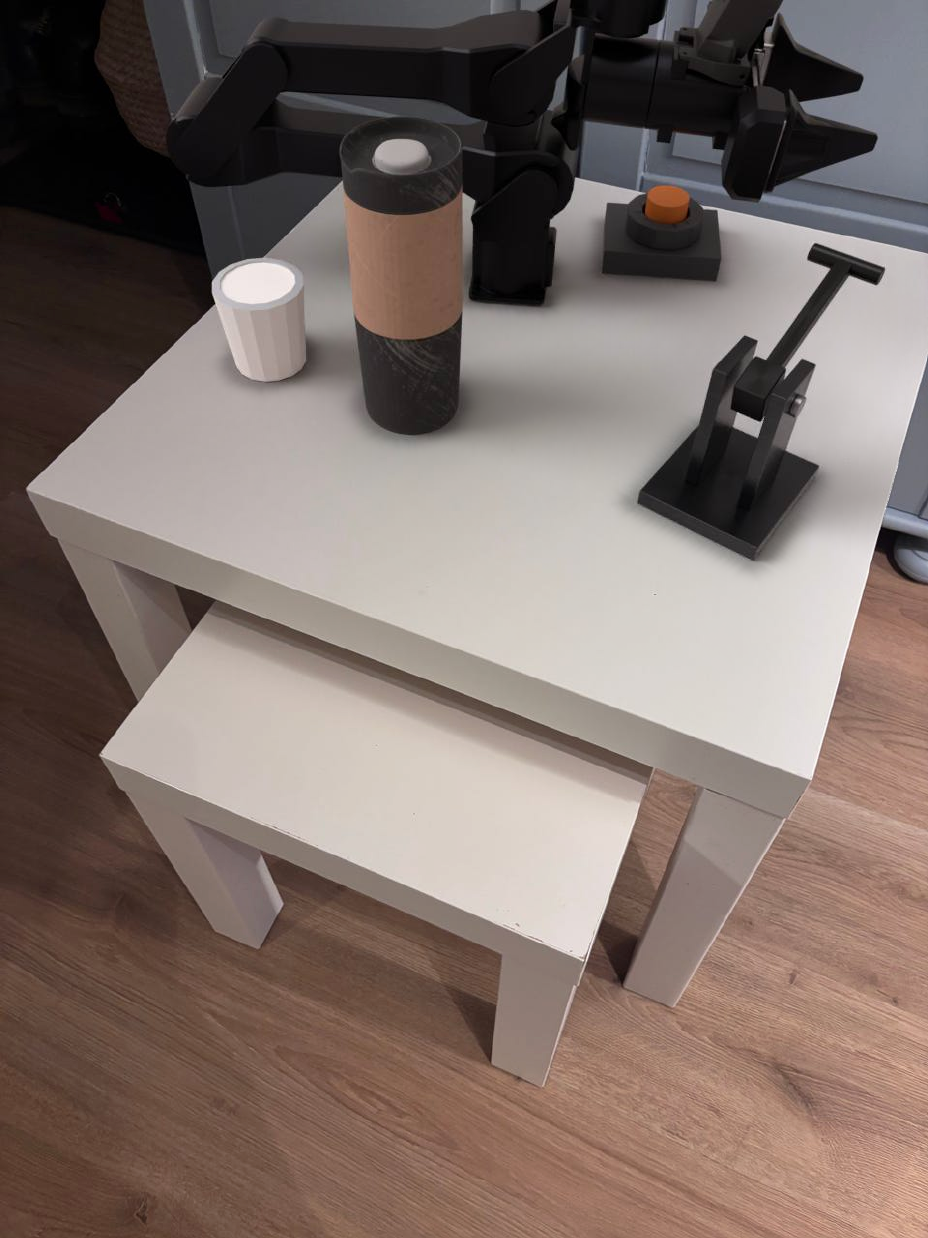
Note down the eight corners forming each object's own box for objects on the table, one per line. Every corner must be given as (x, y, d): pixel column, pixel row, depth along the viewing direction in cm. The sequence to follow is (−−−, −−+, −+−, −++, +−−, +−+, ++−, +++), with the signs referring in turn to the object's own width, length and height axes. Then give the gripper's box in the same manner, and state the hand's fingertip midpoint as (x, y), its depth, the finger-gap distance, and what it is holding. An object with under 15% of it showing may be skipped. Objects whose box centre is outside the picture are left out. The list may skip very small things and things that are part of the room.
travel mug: (475, 384, 77) (481, 126, 61) (442, 447, 72) (439, 185, 57) (384, 363, 78) (367, 106, 62) (346, 423, 74) (317, 163, 58)
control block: (601, 273, 86) (607, 231, 83) (604, 224, 91) (609, 182, 88) (716, 281, 86) (726, 239, 83) (712, 231, 91) (721, 190, 87)
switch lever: (812, 258, 68) (818, 231, 66) (881, 283, 66) (889, 256, 64) (710, 401, 64) (713, 377, 62) (780, 431, 62) (785, 408, 60)
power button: (644, 224, 85) (647, 205, 83) (644, 202, 87) (647, 183, 86) (686, 227, 84) (690, 208, 83) (685, 205, 87) (689, 186, 85)
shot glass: (329, 346, 80) (320, 269, 74) (285, 396, 76) (272, 318, 70) (257, 324, 81) (243, 247, 76) (210, 372, 77) (192, 294, 72)
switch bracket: (703, 427, 74) (736, 302, 65) (815, 477, 71) (864, 353, 62) (636, 503, 69) (662, 378, 60) (752, 561, 66) (797, 438, 57)
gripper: (675, 14, 59) (937, 46, 58) (678, -91, 70) (897, -66, 70) (638, 191, 68) (866, 220, 67) (646, 72, 79) (841, 96, 78)
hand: (868, 111), depth 70 cm, fingers open, 9 cm apart
